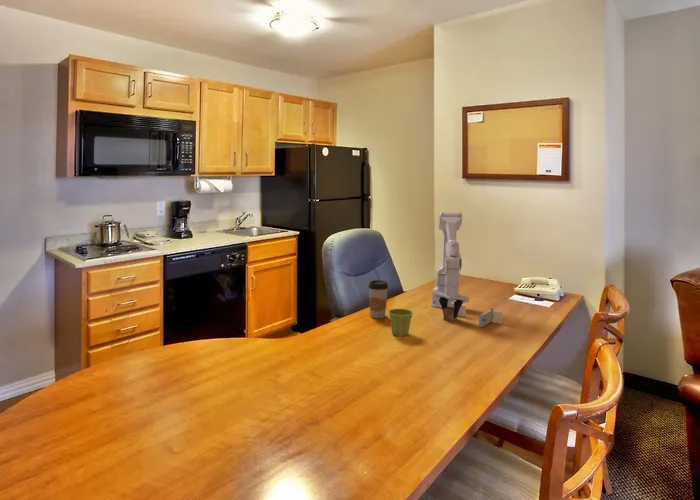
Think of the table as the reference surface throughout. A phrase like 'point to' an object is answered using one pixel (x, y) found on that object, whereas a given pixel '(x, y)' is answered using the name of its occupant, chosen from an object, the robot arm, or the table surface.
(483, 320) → the door
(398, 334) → the plant pot
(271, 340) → the table surface
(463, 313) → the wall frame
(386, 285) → the coffee cup
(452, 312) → the block
